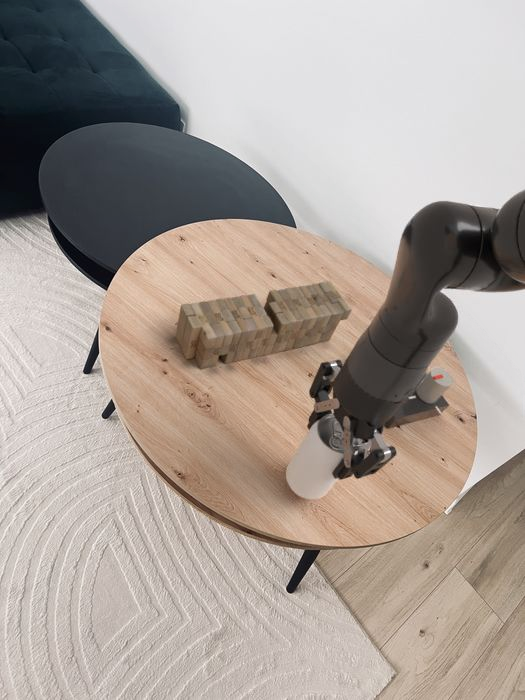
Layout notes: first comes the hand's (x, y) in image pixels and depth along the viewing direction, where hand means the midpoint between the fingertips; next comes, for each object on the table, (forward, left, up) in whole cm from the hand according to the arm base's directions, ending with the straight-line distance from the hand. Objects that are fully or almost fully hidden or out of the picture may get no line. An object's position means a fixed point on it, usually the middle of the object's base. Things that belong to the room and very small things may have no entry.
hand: (326, 450), depth 68 cm
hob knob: (+8, -29, -8) cm, 31 cm away
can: (0, 0, -8) cm, 8 cm away
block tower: (+28, -6, -11) cm, 31 cm away
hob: (+12, -26, -11) cm, 31 cm away
